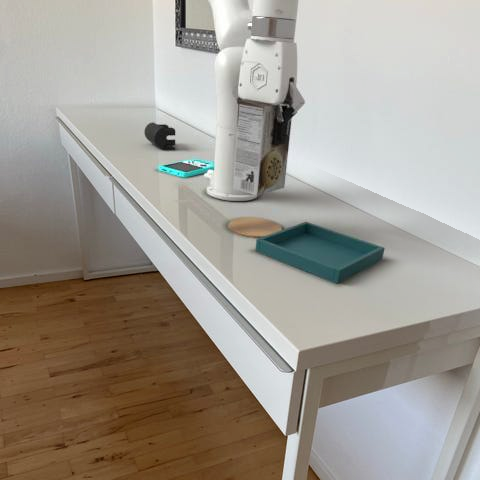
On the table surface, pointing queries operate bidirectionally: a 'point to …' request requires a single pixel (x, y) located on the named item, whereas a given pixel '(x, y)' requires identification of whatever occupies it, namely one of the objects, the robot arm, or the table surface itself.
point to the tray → (320, 251)
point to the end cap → (160, 135)
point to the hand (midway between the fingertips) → (263, 139)
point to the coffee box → (259, 150)
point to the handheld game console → (187, 167)
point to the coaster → (254, 227)
